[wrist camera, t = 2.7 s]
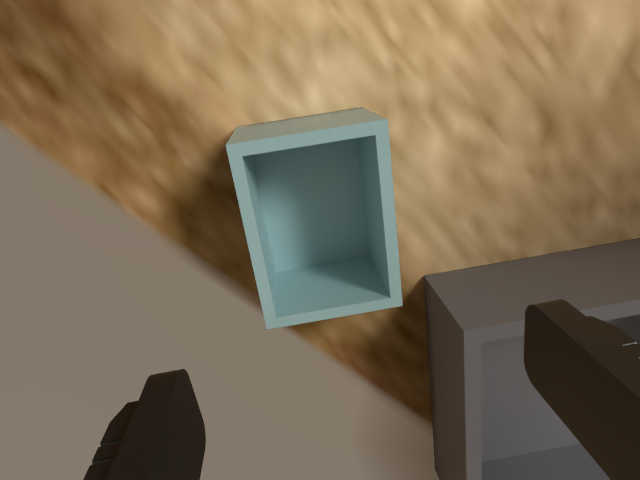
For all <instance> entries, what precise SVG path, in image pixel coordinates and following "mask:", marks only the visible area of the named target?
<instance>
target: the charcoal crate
mask: <svg viewBox="0 0 640 480" xmlns="http://www.w3.org/2000/svg"><path fill="white" fill-rule="evenodd" d="M424 282H425V299H426V317H427V334H428V352H429V369H430V386H431V404H432V421H433V439H434V454H435V455H434V456H435V469H436V472H437V474H438V476H439V479H440V480H610V478H609V477H608V476H607V475H606V474H605V472H604V471H603V470H602V469H601V467H600V466H599V465H598V464H597V463H596V461H595V460H594V459H593V458H592V457H591V455H590V454H589V453H588V452H587V451H586V449H585V448H584V447H583V446H582V444H581V443H580V442H579V441H578V440H577V438H576V437H575V436H574V435H573V434H572V432H571V431H570V430H569V429H568V428H567V426H566V425H565V424H564V423H563V422H562V420H561V419H560V418H559V417H558V415H557V414H556V413H555V412H554V411H553V409H552V408H551V407H550V406H549V405H548V403H547V402H546V401H545V400H544V399H543V397H542V396H541V395H540V394H539V392H538V391H537V390H536V389H535V388H534V386H533V385H532V383H531V382H530V380H529V378H528V375H527V373H526V370H525V365H524V329H525V311H526V308H527V307H528V306H529V305H532V304H537V303H543V302H548V301H553V300H559V299H563V300H566V301H567V302H568V303H570V304H571V305H572V306H574V307H575V308H576V309H577V310H579V311H580V312H581V313H583V314H584V315H585V316H586V317H588V316H593V317H595V318H598V319H600V320H603V321H605V322H607V323H610V324H612V325H614V326H617V327H618V328H619V329H621V330H622V331H624V332H625V333H626V334H628V335H629V336H630V337H632V338H633V339H634V340H636V342H637V344H640V238H639V239H633V240H628V241H622V242H616V243H610V244H605V245H599V246H593V247H587V248H582V249H576V250H570V251H564V252H558V253H553V254H547V255H541V256H535V257H530V258H524V259H518V260H512V261H507V262H501V263H495V264H489V265H484V266H478V267H472V268H466V269H461V270H455V271H449V272H443V273H438V274H432V275H426V276H424Z"/></svg>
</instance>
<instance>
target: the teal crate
mask: <svg viewBox="0 0 640 480" xmlns="http://www.w3.org/2000/svg"><path fill="white" fill-rule="evenodd" d="M226 149H227V154H228V158H229V163H230V167H231V172H232V176H233V181H234V185H235V190H236V194H237V199H238V203H239V208H240V212H241V217H242V221H243V226H244V230H245V235H246V239H247V244H248V248H249V252H250V257H251V261H252V266H253V270H254V275H255V279H256V284H257V288H258V293H259V297H260V302H261V306H262V311H263V315H264V319H265V324H266V329H274V328H280V327H286V326H291V325H297V324H303V323H308V322H314V321H320V320H325V319H331V318H337V317H342V316H348V315H354V314H359V313H365V312H371V311H376V310H382V309H388V308H394V307H399V306H403V303H402V290H401V278H400V266H399V253H398V241H397V228H396V216H395V204H394V191H393V179H392V166H391V154H390V142H389V129H388V119H386V118H384V117H382V116H380V115H378V114H376V113H373V112H371V111H369V110H367V109H365V108H363V107H361V108H355V109H349V110H342V111H336V112H330V113H324V114H317V115H311V116H305V117H298V118H292V119H286V120H279V121H273V122H267V123H260V124H254V125H248V126H242V127H236V129H235V131H234V132H233V134H232V135H231V137H230V139H229V140H228V142H227V143H226Z"/></svg>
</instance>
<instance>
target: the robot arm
mask: <svg viewBox="0 0 640 480" xmlns="http://www.w3.org/2000/svg"><path fill="white" fill-rule="evenodd" d="M524 365H525V370H526V373H527V375H528V378H529V380H530V382H531V383H532V385H533V386H534V388H535V389H536V390H537V391H538V392H539V394H540V395H541V396H542V397H543V399H544V400H545V401H546V402H547V403H548V405H549V406H550V407H551V408H552V409H553V411H554V412H555V413H556V414H557V415H558V417H559V418H560V419H561V420H562V422H563V423H564V424H565V425H566V426H567V428H568V429H569V430H570V431H571V432H572V434H573V435H574V436H575V437H576V438H577V440H578V441H579V442H580V443H581V444H582V446H583V447H584V448H585V449H586V451H587V452H588V453H589V454H590V455H591V457H592V458H593V459H594V460H595V461H596V463H597V464H598V465H599V466H600V467H601V469H602V470H603V471H604V472H605V474H606V475H607V476H608V477H609V478H610V480H640V344H637V342H636V340H634V339H633V338H632V337H630V336H629V335H628V334H626V333H625V332H624V331H622V330H621V329H619V328H618V327H617V326H614V325H612V324H610V323H607V322H605V321H603V320H600V319H598V318H595V317H593V316H588V317H586V316H585V315H584V314H583V313H581V312H580V311H579V310H577V309H576V308H575V307H574V306H572V305H571V304H570V303H568V302H567V301H566V300H563V299H559V300H553V301H548V302H543V303H537V304H532V305H529V306H528V307H527V308H526V311H525V329H524ZM205 438H206V437H205V427H204V422H203V418H202V415H201V412H200V409H199V406H198V403H197V400H196V397H195V394H194V390H193V388H192V384H191V382H190V378H189V375H188V373H187V372H186V370H184V369H181V370H176V371H170V372H166V373H160V374H155V375H151V376H149V378H148V379H147V381H146V384H145V386H144V389H143V391H142V394H141V396H140V398H139V401H135V402H130V403H127V404H126V405H125V406H124V408H123V409H122V410H121V411H120V412H119V413H118V414H117V415H116V416H115V417H114V419H113V420H112V421H111V422H110V424H109V426H108V428H107V430H106V432H105V434H104V437H103V439H102V441H101V447H99V448H98V449H97V451H96V454H95V456H94V458H93V460H92V462H93V463H92V465H90V467H89V469H88V471H87V473H86V475H85V477H84V480H199V479H200V474H201V469H202V463H203V458H204V452H205V441H206V439H205Z"/></svg>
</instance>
